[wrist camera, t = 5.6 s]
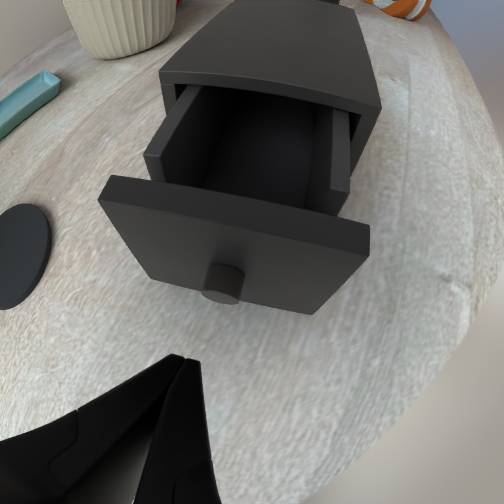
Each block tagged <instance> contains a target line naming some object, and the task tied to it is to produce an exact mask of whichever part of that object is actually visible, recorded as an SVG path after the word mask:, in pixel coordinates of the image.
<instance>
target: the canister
mask: <svg viewBox="0 0 504 504" xmlns="http://www.w3.org/2000/svg"><path fill="white" fill-rule="evenodd" d="M62 1H63V4H64V6H65V9H66V11H67V14H68V16H69V19H70V21H71V23H72V26H73V28H74V30H75V32H76V35H77V37H78V39H79V41H80V43H81V45H82V47H83V49H84V50H85V52H86V53H87V54H88V55H90V56H91V57H93V58H96V59H102V60H104V59H107V60H108V59H115V58H121V57H125V56H128V55H132V54H135V53H139V52H141V51H144V50H146V49H149V48H151V47H153V46H155V45H156V44H159V43H160V42H161V41H163V40H164V39H165V38H167V37H168V35H169V34H170V33H171V31H172V29H173V26H174V22H175V14H176V2H177V0H62Z"/></svg>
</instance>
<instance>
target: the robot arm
mask: <svg viewBox="0 0 504 504" xmlns="http://www.w3.org/2000/svg"><path fill="white" fill-rule="evenodd" d="M211 458H212V457H211V450H210V443H209V436H208V428H207V420H206V411H205V403H204V393H203V384H202V373H201V363H200V361H197V360H194V359H190V358H186V359H185V358H184V357H183V356H179V355H176V354H169V355H168V356H166V357H164V358H163V359H161V360H160V361H158V362H156V363H155V364H153V365H151V366H150V367H148V368H146V369H145V370H143V371H141V372H140V373H138V374H136V375H135V376H133V377H131V378H130V379H128V380H126V381H125V382H123V383H121V384H120V385H118V386H116V387H114V388H113V389H111V390H109V391H108V392H106V393H104V394H102V395H101V396H99V397H97V398H95V399H94V400H92V401H90V402H88V403H87V404H85V405H83V406H81V407H79V408H78V411H77V410H74V411H72V412H70V413H68V414H66V415H65V416H63V417H61V418H59V419H57V420H55V421H53V422H51V423H48V424H46V425H44V426H41V427H39V428H36V429H34V430H31V431H28V432H26V433H23V434H20V435H17V436H14V437H11V438H8V439H5V440H2V441H0V504H131V503H132V501H133V499H134V497H135V499H134V502H133V504H222V503H221V500H220V497H219V493H218V490H217V485H216V480H215V475H214V470H213V463H212V460H211Z"/></svg>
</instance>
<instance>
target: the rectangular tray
mask: <svg viewBox="0 0 504 504" xmlns="http://www.w3.org/2000/svg"><path fill="white" fill-rule="evenodd" d="M60 84H61V79H60V78H58V77H56V76H55V75H53V74H52V73H50V72H49V71H47V70H43V71H41V72H40V73H38V74H36V75H35V76H34V77H32V78H31V79H29V80H28V81H26V82H25V83H23V84H22V85H21V86H19V87H18V88H17V89H15V90H14V91H13V92H11V93H10V94H9V95H7V96H6V97H5V98H4V99H2V100H1V101H0V140H1V139H2V138H3V137H4V136H5V135H7V134H8V133H9V132H10V131H11V130H12V129H13V128H15V127H16V126H17V125H18V124H19V123H21V122H22V121H23V120H24V119H26V118H27V117H28V116H29V115H31V114H32V113H33V112H35V111H36V110H37V109H39V108H40V107H41V106H43V105H44V104H45V103H47V102H48V101H50V100H51V99H53V98H54V97H55V96H57V95H58V92H59V88H60Z"/></svg>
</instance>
